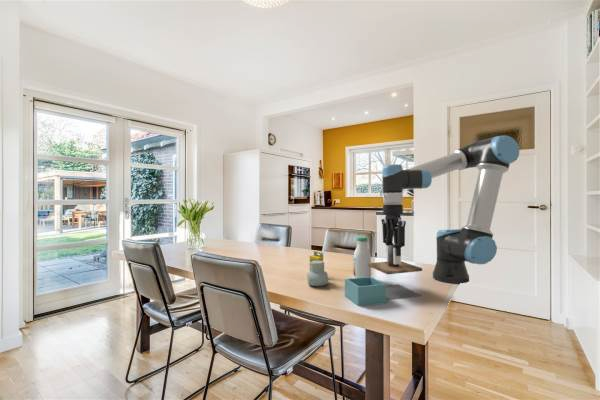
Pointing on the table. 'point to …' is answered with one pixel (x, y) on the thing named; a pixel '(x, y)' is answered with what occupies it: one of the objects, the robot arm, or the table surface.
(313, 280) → the air freshener
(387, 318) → the table surface
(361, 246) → the milk bottle
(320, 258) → the crayon box
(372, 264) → the lid
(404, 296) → the mat
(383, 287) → the teal storage bin
